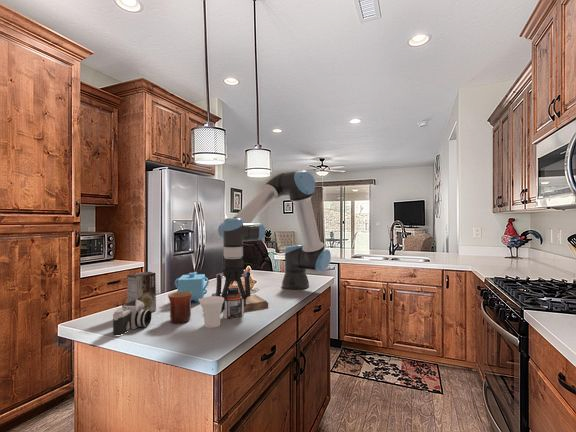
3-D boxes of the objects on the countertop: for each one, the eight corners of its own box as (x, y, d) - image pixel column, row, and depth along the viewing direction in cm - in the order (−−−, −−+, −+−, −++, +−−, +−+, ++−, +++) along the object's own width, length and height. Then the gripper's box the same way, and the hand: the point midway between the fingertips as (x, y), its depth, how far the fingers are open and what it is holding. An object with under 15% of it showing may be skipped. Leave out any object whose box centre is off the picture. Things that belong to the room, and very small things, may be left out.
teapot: (207, 303, 142) (207, 274, 142) (171, 304, 140) (171, 275, 140) (211, 293, 160) (211, 268, 160) (179, 294, 158) (179, 269, 158)
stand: (255, 300, 146) (255, 294, 146) (268, 308, 134) (268, 301, 134) (226, 304, 140) (226, 297, 140) (237, 313, 127) (237, 305, 127)
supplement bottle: (227, 314, 125) (227, 286, 125) (241, 314, 126) (241, 286, 126) (224, 319, 119) (224, 290, 119) (239, 319, 120) (239, 289, 120)
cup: (202, 321, 117) (202, 295, 117) (227, 322, 117) (227, 295, 117) (194, 330, 108) (194, 301, 108) (221, 330, 108) (221, 301, 108)
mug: (193, 323, 115) (193, 295, 115) (168, 326, 112) (168, 298, 112) (190, 314, 126) (190, 288, 126) (167, 316, 123) (167, 290, 123)
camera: (133, 337, 102) (133, 307, 102) (108, 337, 102) (108, 307, 102) (156, 321, 118) (156, 295, 118) (134, 321, 118) (134, 294, 118)
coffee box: (146, 308, 134) (146, 271, 134) (156, 310, 131) (156, 272, 131) (126, 314, 126) (126, 274, 126) (136, 317, 123) (136, 276, 123)
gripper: (252, 254, 130) (252, 310, 130) (206, 257, 121) (206, 317, 121) (259, 256, 124) (259, 315, 124) (211, 260, 115) (211, 323, 115)
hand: (233, 316), depth 122 cm, fingers closed on supplement bottle, 6 cm apart
